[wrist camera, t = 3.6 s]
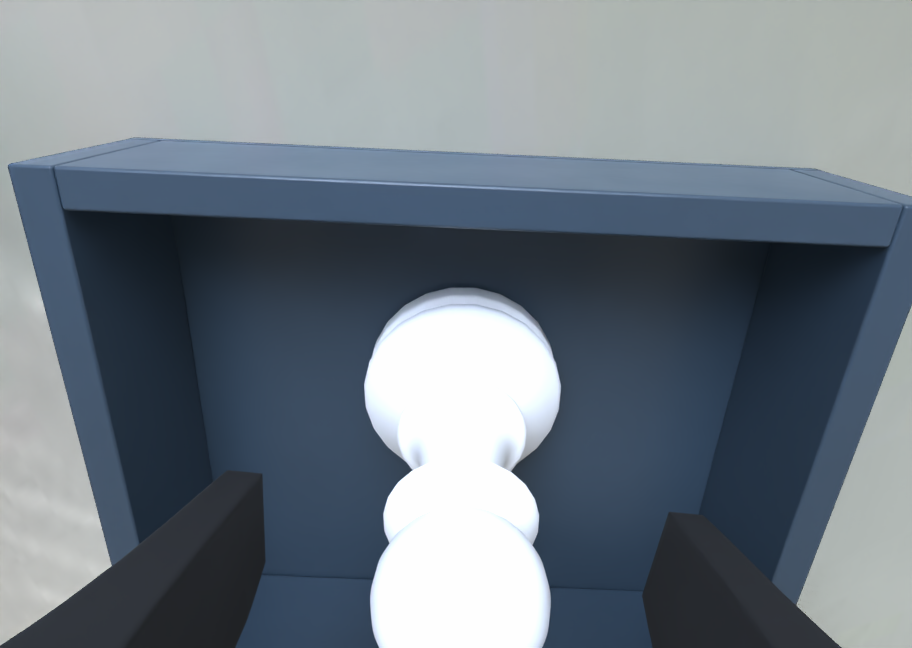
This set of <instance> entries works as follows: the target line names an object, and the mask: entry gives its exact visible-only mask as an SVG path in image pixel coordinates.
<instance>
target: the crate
mask: <svg viewBox="0 0 912 648" xmlns="http://www.w3.org/2000/svg"><path fill="white" fill-rule="evenodd" d="M8 169H9V173H10V177H11V181H12V185H13V188H14V192H15V196H16V200H17V204H18V208H19V211H20V215H21V219H22V223H23V227H24V231H25V234H26V238H27V242H28V246H29V250H30V254H31V257H32V261H33V265H34V269H35V273H36V277H37V280H38V284H39V288H40V292H41V296H42V300H43V303H44V307H45V311H46V315H47V319H48V323H49V326H50V330H51V334H52V338H53V342H54V346H55V349H56V353H57V357H58V361H59V365H60V369H61V372H62V376H63V380H64V384H65V388H66V392H67V395H68V399H69V403H70V407H71V411H72V415H73V418H74V422H75V426H76V430H77V434H78V438H79V441H80V445H81V449H82V453H83V457H84V461H85V464H86V468H87V472H88V476H89V480H90V484H91V487H92V491H93V495H94V499H95V503H96V507H97V510H98V514H99V518H100V522H101V526H102V530H103V533H104V537H105V541H106V545H107V549H108V553H109V556H110V560H111V564H112V566H113V565H114V564H115V563H117V562H118V561H119V560H120V559H122V558H123V557H124V556H125V555H127V554H128V553H129V552H130V551H132V550H133V549H134V548H135V547H136V546H138V545H139V544H140V543H141V542H143V541H144V540H145V539H146V538H147V537H149V536H150V535H151V534H152V533H154V532H155V531H156V530H157V529H158V528H160V527H161V526H162V525H163V524H165V523H166V522H167V521H168V520H169V519H170V518H172V517H173V516H174V515H175V514H176V513H177V512H179V511H180V510H181V509H182V508H183V507H184V506H186V505H187V504H188V503H189V502H190V501H191V500H193V499H194V498H195V497H196V496H197V495H198V494H199V493H201V492H202V491H203V490H204V489H205V488H206V487H208V486H209V485H210V484H211V483H212V482H213V481H215V480H216V479H217V478H218V477H219V476H221V475H222V474H223V473H224V472H226V471H227V470H231V471H242V472H252V473H262V476H263V504H264V532H265V560H266V562H265V565H264V568H263V572H262V575H261V578H260V581H259V585H258V588H257V591H256V594H255V597H254V601H253V604H252V607H251V610H250V613H249V616H248V619H247V621H246V624H245V626H244V628H243V631H242V633H241V635H240V638H239V640H238V642H237V644H236V647H235V648H379V646H378V644H377V642H376V639H375V637H374V633H373V629H372V621H371V609H370V592H371V587H372V583H373V579H374V576H375V572H376V569H377V565H378V562H379V560H380V558H381V555H382V554H383V552H384V551H385V549H386V548H387V546H388V545H389V541H388V538H387V536H386V534H385V531H384V518H383V513H384V509H385V505H386V502H387V498H388V496H389V495H390V493H391V492H392V490H393V489H394V487H395V486H396V484H397V483H398V482H399V481H400V480H402V479H403V478H404V477H405V476H406V475H408V474H409V473H410V472H411V471H413V470H412V469H411V468H410V466H409V465H408V464H407V462H405V461H404V460H403V459H402V458H400V457H399V456H398V455H397V454H396V453H394V452H393V451H392V450H391V449H389V448H388V447H387V446H386V444H385V443H384V442H383V440H382V439H381V438H380V436H379V435H378V434H377V432H376V431H375V430H374V428H373V425H372V423H371V420H370V417H369V415H368V412H367V409H366V405H365V391H364V382H365V378H366V374H367V370H368V365H369V361H370V359H371V358H372V354H373V350H374V347H375V344H376V341H377V339H378V337H379V336H380V334H381V332H382V330H383V329H384V327H385V325H386V324H387V322H388V321H389V320H390V319H391V318H392V317H393V316H394V315H395V314H396V313H397V312H398V311H399V310H400V309H401V308H402V307H403V306H404V305H406V304H408V303H410V302H411V301H413V300H415V299H417V298H419V297H421V296H423V295H424V294H426V293H430V292H434V291H438V290H443V289H447V288H479V289H483V290H486V291H490V292H494V293H498V294H501V295H503V296H504V297H506V298H508V299H510V300H512V301H513V302H515V303H517V304H519V305H521V306H522V307H523V308H524V309H525V310H526V311H527V312H528V313H529V314H530V315H531V316H532V317H533V318H534V319H535V320H536V321H537V322H538V323H539V325H540V327H541V328H542V330H543V332H544V334H545V335H546V337H547V339H548V341H549V343H550V346H551V349H552V353H553V358H554V360H555V362H556V365H557V370H558V374H559V379H560V383H561V393H560V405H559V411H558V413H557V416H556V418H555V421H554V423H553V426H552V428H551V430H550V432H549V433H548V434H547V436H546V437H545V438H544V440H543V441H542V442H541V443H540V445H539V446H538V447H537V449H535V450H534V451H533V452H531V453H530V454H529V455H528V456H526V457H525V458H524V459H522V460H521V461H520V462H519V463H517V464H516V465H515V467H514V468H513V469H512V471H510V472H512V473H513V474H514V475H515V476H516V477H518V478H519V479H520V480H521V481H522V482H523V483H525V485H526V486H527V488H528V489H529V491H530V492H531V494H532V495H533V497H534V498H535V501H536V505H537V509H538V512H539V526H538V534H537V536H536V538H535V541H534V543H533V545H532V546H533V547H534V548H535V550H536V551H537V553H538V555H539V556H540V558H541V560H542V563H543V566H544V569H545V573H546V577H547V580H548V584H549V588H550V594H551V609H550V620H549V628H548V634H547V637H546V640H545V642H544V645H543V647H542V648H653V646H652V642H651V637H650V633H649V629H648V624H647V619H646V613H645V608H644V603H643V598H642V594H643V591H644V588H645V584H646V581H647V578H648V575H649V572H650V569H651V566H652V563H653V560H654V556H655V553H656V550H657V547H658V544H659V541H660V538H661V535H662V532H663V528H664V525H665V522H666V519H667V516H668V513H669V512H677V513H688V514H698V515H703V516H704V517H706V518H707V519H708V520H709V521H710V522H711V523H712V524H713V525H714V526H715V527H716V528H717V529H718V530H719V531H720V532H721V533H722V534H724V535H725V536H726V537H727V538H728V539H729V540H730V541H731V542H732V543H733V544H734V545H735V546H736V547H737V548H738V549H739V550H740V551H741V552H742V553H743V554H744V555H745V556H746V557H747V558H748V559H749V560H750V561H751V562H752V563H753V564H754V565H755V566H756V567H757V568H758V569H759V570H760V571H761V572H762V573H763V574H764V575H765V576H766V577H767V578H768V579H769V580H770V581H771V582H772V583H773V584H774V585H775V586H776V587H777V588H778V589H779V590H780V591H781V592H782V593H783V594H784V595H785V596H787V597H788V598H789V599H790V600H791V601H792V602H793V603H794V604H795V605H796V604H797V602H798V599H799V596H800V594H801V591H802V589H803V586H804V583H805V581H806V578H807V576H808V573H809V570H810V568H811V565H812V563H813V560H814V557H815V555H816V552H817V550H818V547H819V544H820V542H821V539H822V537H823V534H824V531H825V529H826V526H827V524H828V521H829V518H830V516H831V513H832V511H833V508H834V505H835V503H836V500H837V498H838V495H839V492H840V490H841V487H842V485H843V482H844V479H845V477H846V474H847V472H848V469H849V466H850V464H851V461H852V459H853V456H854V453H855V451H856V448H857V446H858V443H859V440H860V438H861V435H862V433H863V430H864V427H865V425H866V422H867V420H868V417H869V414H870V412H871V409H872V407H873V404H874V401H875V399H876V396H877V394H878V391H879V388H880V386H881V383H882V381H883V378H884V376H885V373H886V370H887V368H888V365H889V363H890V360H891V357H892V355H893V352H894V350H895V347H896V344H897V342H898V339H899V337H900V334H901V331H902V329H903V326H904V324H905V321H906V318H907V316H908V313H909V311H910V308H911V305H912V197H911V196H908V195H904V194H901V193H897V192H894V191H890V190H887V189H883V188H880V187H876V186H873V185H869V184H866V183H862V182H859V181H855V180H852V179H849V178H845V177H842V176H838V175H835V174H831V173H828V172H824V171H821V170H818V169H810V168H788V167H766V166H744V165H722V164H701V163H679V162H657V161H635V160H613V159H592V158H570V157H548V156H526V155H505V154H483V153H461V152H439V151H417V150H396V149H374V148H352V147H330V146H308V145H287V144H265V143H243V142H221V141H200V140H178V139H156V138H130V139H126V140H121V141H117V142H112V143H107V144H102V145H97V146H93V147H88V148H83V149H78V150H73V151H69V152H64V153H59V154H54V155H49V156H45V157H40V158H35V159H30V160H25V161H21V162H16V163H11V164H9V165H8Z"/></svg>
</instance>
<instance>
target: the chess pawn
mask: <svg viewBox="0 0 912 648" xmlns="http://www.w3.org/2000/svg"><path fill="white" fill-rule="evenodd" d="M364 391H365V405H366V409H367V412H368V415H369V417H370V420H371V423H372V425H373V428H374V430H375V431H376V432H377V434H378V435H379V436H380V438H381V439H382V440H383V442H384V443H385V444H386V446H387V447H388V448H389V449H391V450H392V451H393V452H394V453H396V454H397V455H398V456H399V457H400V458H402V459H403V460H404V461H405V462H407V464H408V465H409V466H410V468H411V469H412V470H413V471H411V472H410V473H409V474H408V475H406V476H405V477H404V478H403V479H402V480H400V481H399V482H398V483H397V484H396V486H395V487H394V489H393V490H392V492H391V493H390V495H389V496H388V498H387V502H386V505H385V509H384V513H383V518H384V531H385V534H386V536H387V538H388V541H389V545H388V546H387V548H386V549H385V551H384V552H383V554H382V555H381V558H380V560H379V562H378V565H377V569H376V572H375V576H374V579H373V583H372V587H371V592H370V609H371V621H372V629H373V633H374V637H375V639H376V642H377V644H378V646H379V648H542V647H543V645H544V642H545V640H546V637H547V634H548V628H549V620H550V609H551V594H550V588H549V584H548V580H547V577H546V573H545V569H544V566H543V563H542V560H541V558H540V556H539V555H538V553H537V551H536V550H535V548H534V547H533V546H532V545H533V543H534V541H535V538H536V536H537V534H538V526H539V512H538V509H537V505H536V501H535V498H534V497H533V495H532V494H531V492H530V491H529V489H528V488H527V486H526V485H525V483H523V482H522V481H521V480H520V479H519V478H518V477H516V476H515V475H514V474H513V473H512V472H510V471H512V469H513V468H514V467H515V465H516V464H517V463H519V462H520V461H521V460H522V459H524V458H525V457H526V456H528V455H529V454H530V453H531V452H533V451H534V450H535V449H537V447H538V446H539V445H540V443H541V442H542V441H543V440H544V438H545V437H546V436H547V434H548V433H549V432H550V430H551V428H552V426H553V423H554V421H555V418H556V416H557V413H558V411H559V405H560V393H561V383H560V379H559V374H558V370H557V365H556V362H555V360H554V358H553V353H552V349H551V346H550V343H549V341H548V339H547V337H546V335H545V334H544V332H543V330H542V328H541V327H540V325H539V323H538V322H537V321H536V320H535V319H534V318H533V317H532V316H531V315H530V314H529V313H528V312H527V311H526V310H525V309H524V308H523V307H522V306H521V305H519V304H517V303H515V302H513V301H512V300H510V299H508V298H506V297H504V296H503V295H501V294H498V293H494V292H490V291H486V290H483V289H479V288H447V289H443V290H438V291H434V292H430V293H426V294H424V295H423V296H421V297H419V298H417V299H415V300H413V301H411V302H410V303H408V304H406V305H404V306H403V307H402V308H401V309H400V310H399V311H398V312H397V313H396V314H395V315H394V316H393V317H392V318H391V319H390V320H389V321H388V322H387V324H386V325H385V327H384V329H383V330H382V332H381V334H380V336H379V337H378V339H377V341H376V344H375V347H374V350H373V354H372V358H371V359H370V361H369V365H368V370H367V374H366V378H365V382H364Z"/></svg>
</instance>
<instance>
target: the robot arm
mask: <svg viewBox="0 0 912 648" xmlns="http://www.w3.org/2000/svg"><path fill="white" fill-rule="evenodd" d="M265 562H266V560H265V532H264V504H263V476H262V473H252V472H242V471H231V470H227V471H226V472H224V473H223V474H222V475H221V476H219V477H218V478H217V479H216V480H215V481H213V482H212V483H211V484H210V485H209V486H208V487H206V488H205V489H204V490H203V491H202V492H201V493H199V494H198V495H197V496H196V497H195V498H194V499H193V500H191V501H190V502H189V503H188V504H187V505H186V506H184V507H183V508H182V509H181V510H180V511H179V512H177V513H176V514H175V515H174V516H173V517H172V518H170V519H169V520H168V521H167V522H166V523H165V524H163V525H162V526H161V527H160V528H158V529H157V530H156V531H155V532H154V533H152V534H151V535H150V536H149V537H147V538H146V539H145V540H144V541H143V542H141V543H140V544H139V545H138V546H136V547H135V548H134V549H133V550H132V551H130V552H129V553H128V554H127V555H125V556H124V557H123V558H122V559H120V560H119V561H118V562H117V563H115V564H114V565H113V566H111V567H110V568H109V569H107V570H106V571H105V572H103V573H102V574H101V575H99V576H98V577H97V578H96V579H94V580H93V581H92V582H90V583H89V584H88V585H86V586H85V587H84V588H82V589H81V590H80V591H78V592H77V593H76V594H74V595H73V596H72V597H70V598H69V599H68V600H66V601H65V602H64V603H62V604H61V605H59V606H58V607H56V608H55V609H54V610H52V611H51V612H49V613H48V614H47V615H45V616H44V617H42V618H41V619H39V620H38V621H37V622H35V623H34V624H32V625H31V626H29V627H28V628H26V629H25V630H23V631H22V632H20V633H19V634H17V635H16V636H14V637H13V638H11V639H10V640H8V641H7V642H5V643H4V644H2V645H0V648H235V647H236V644H237V642H238V640H239V638H240V635H241V633H242V631H243V628H244V626H245V624H246V621H247V619H248V616H249V613H250V610H251V607H252V604H253V601H254V597H255V594H256V591H257V588H258V585H259V581H260V578H261V575H262V572H263V568H264V565H265ZM642 598H643V603H644V608H645V613H646V619H647V624H648V629H649V633H650V637H651V642H652V646H653V648H841V647H840V646H839V645H838V644H837V643H836V642H834V641H833V640H832V639H831V638H830V637H829V636H828V635H827V634H826V633H825V632H824V631H823V630H821V629H820V628H819V627H818V626H817V625H816V624H815V623H814V622H813V621H812V620H811V619H810V618H809V617H807V616H806V615H805V614H804V613H803V612H802V611H801V610H800V609H799V608H798V607H797V606H796V605H795V604H794V603H793V602H792V601H791V600H790V599H789V598H788V597H787V596H785V595H784V594H783V593H782V592H781V591H780V590H779V589H778V588H777V587H776V586H775V585H774V584H773V583H772V582H771V581H770V580H769V579H768V578H767V577H766V576H765V575H764V574H763V573H762V572H761V571H760V570H759V569H758V568H757V567H756V566H755V565H754V564H753V563H752V562H751V561H750V560H749V559H748V558H747V557H746V556H745V555H744V554H743V553H742V552H741V551H740V550H739V549H738V548H737V547H736V546H735V545H734V544H733V543H732V542H731V541H730V540H729V539H728V538H727V537H726V536H725V535H724V534H722V533H721V532H720V531H719V530H718V529H717V528H716V527H715V526H714V525H713V524H712V523H711V522H710V521H709V520H708V519H707V518H706V517H704V516H703V515H698V514H688V513H677V512H669V513H668V516H667V519H666V522H665V525H664V528H663V532H662V535H661V538H660V541H659V544H658V547H657V550H656V553H655V556H654V560H653V563H652V566H651V569H650V572H649V575H648V578H647V581H646V584H645V588H644V591H643V594H642Z"/></svg>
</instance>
